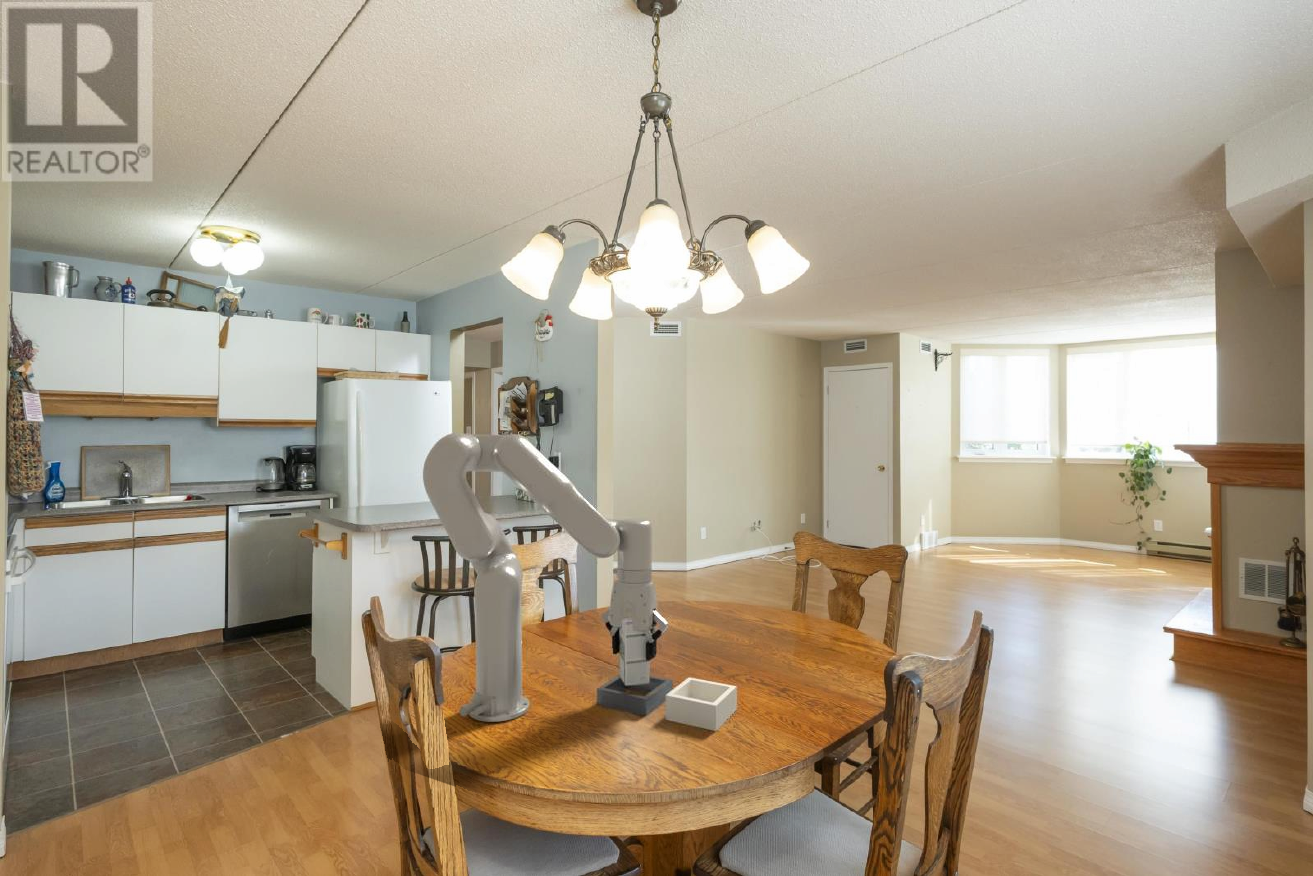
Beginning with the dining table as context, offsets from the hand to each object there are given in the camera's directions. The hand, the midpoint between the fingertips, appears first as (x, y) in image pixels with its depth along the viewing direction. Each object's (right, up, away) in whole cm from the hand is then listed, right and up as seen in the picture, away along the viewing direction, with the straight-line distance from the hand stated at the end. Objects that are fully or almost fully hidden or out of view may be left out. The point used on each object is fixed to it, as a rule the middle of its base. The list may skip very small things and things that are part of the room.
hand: (633, 655), depth 142 cm
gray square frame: (0, -10, 0) cm, 10 cm away
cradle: (+14, -10, -8) cm, 19 cm away
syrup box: (0, -6, 0) cm, 6 cm away
